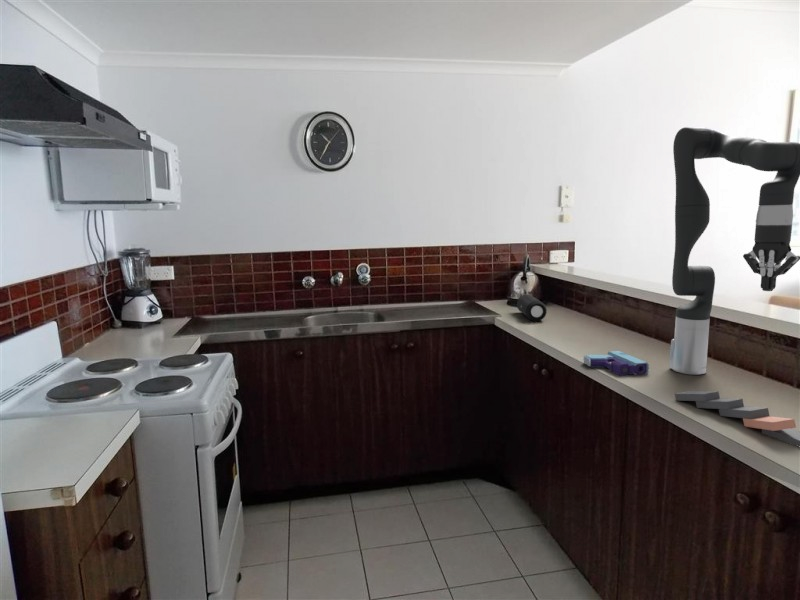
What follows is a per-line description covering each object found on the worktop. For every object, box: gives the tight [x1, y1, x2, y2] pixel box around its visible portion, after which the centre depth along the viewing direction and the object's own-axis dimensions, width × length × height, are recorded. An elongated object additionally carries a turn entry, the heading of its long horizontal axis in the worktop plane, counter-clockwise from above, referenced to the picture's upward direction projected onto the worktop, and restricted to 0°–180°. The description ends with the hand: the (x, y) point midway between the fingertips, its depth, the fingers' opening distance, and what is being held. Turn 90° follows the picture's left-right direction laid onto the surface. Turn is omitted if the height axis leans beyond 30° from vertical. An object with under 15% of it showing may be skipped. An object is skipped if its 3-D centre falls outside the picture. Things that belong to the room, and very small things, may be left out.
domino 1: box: [674, 390, 720, 402], centre depth 133 cm, size 2×5×9 cm
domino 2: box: [695, 397, 745, 410], centre depth 127 cm, size 2×5×9 cm
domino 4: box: [742, 416, 797, 431], centre depth 114 cm, size 2×5×9 cm
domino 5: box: [761, 428, 800, 446], centre depth 112 cm, size 2×5×9 cm
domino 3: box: [718, 405, 770, 419], centre depth 122 cm, size 2×5×9 cm
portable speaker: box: [516, 293, 548, 322], centre depth 250 cm, size 26×10×10 cm, turn 179°
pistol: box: [583, 350, 650, 376], centre depth 165 cm, size 4×16×15 cm
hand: (767, 290), depth 132 cm, fingers closed
